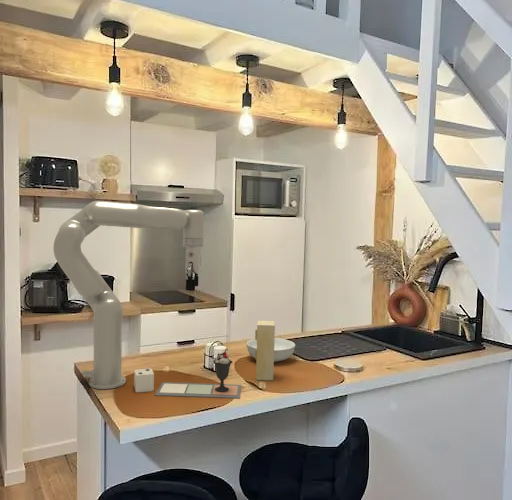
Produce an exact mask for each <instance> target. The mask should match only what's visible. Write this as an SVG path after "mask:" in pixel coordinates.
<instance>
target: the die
mask: <svg viewBox="0 0 512 500" xmlns="http://www.w3.org/2000/svg"><path fill="white" fill-rule="evenodd" d="M133 373H134V374H133V375H134V376H133V378H134V379H133V385H134V386H133V388H134V391H135V393H145V392H154V391H155V387H154V386H155V382H154V381H155V373H154V370H153V369H152V368H151V367H150V368H140V369H134V371H133Z"/></svg>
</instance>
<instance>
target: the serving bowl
mask: <svg viewBox="0 0 512 500" xmlns="http://www.w3.org/2000/svg"><path fill="white" fill-rule="evenodd" d="M295 347H296V344H295V342H293V341H291V340H288V339H284V338H278V337H275V338H274V363H275V362H280V361H285V360H287V359H289V358H290V357H291V356H292V355H293V354H294V352H295V349H296V348H295ZM246 348H247V349H246V350H247V351H248V353H249V354H250V356H251V357H252V358H254V359H255V350H257V340H255V338H252V339H249V340H247V342H246Z"/></svg>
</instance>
